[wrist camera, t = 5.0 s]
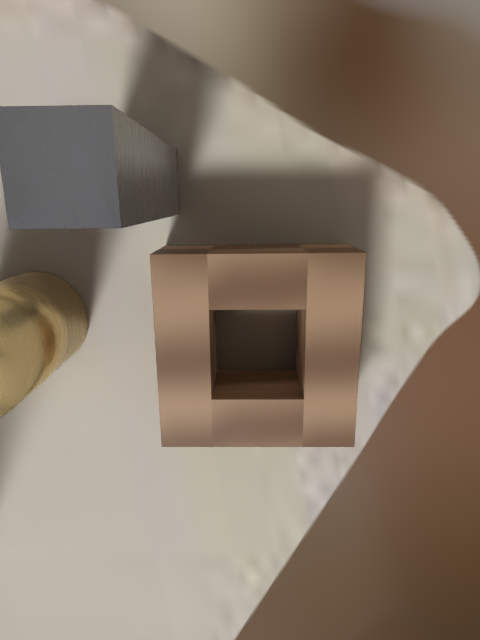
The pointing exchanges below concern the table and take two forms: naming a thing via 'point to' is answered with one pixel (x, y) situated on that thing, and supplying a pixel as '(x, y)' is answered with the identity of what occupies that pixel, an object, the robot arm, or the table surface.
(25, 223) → the square bit
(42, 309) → the round bit
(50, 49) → the table surface
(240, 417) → the socket block
